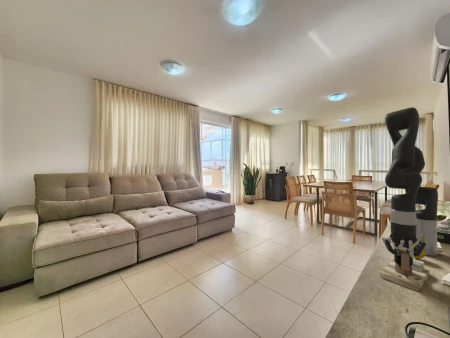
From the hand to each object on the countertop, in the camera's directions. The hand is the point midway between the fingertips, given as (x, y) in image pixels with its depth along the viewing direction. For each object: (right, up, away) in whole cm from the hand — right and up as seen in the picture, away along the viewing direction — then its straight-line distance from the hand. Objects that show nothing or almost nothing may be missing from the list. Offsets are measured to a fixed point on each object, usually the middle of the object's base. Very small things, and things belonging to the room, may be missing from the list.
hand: (403, 264), depth 75 cm
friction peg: (0, -3, 0) cm, 3 cm away
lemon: (+20, -5, +14) cm, 25 cm away
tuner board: (+2, -5, +1) cm, 6 cm away
